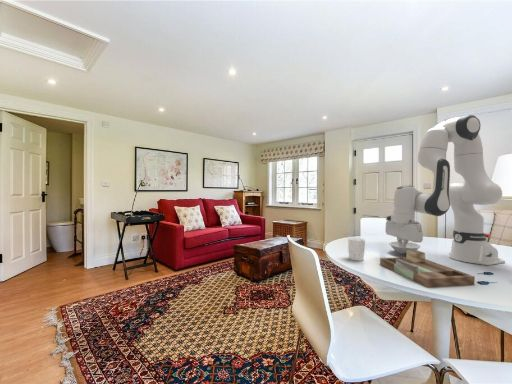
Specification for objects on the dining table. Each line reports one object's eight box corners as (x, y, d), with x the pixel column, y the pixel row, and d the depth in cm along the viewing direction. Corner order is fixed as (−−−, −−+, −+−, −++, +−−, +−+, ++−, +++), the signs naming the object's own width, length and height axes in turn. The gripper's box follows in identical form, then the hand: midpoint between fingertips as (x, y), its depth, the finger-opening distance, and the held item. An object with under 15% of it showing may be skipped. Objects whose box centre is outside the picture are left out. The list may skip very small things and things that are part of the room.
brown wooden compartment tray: (418, 263, 118) (418, 251, 118) (474, 284, 92) (474, 269, 92) (380, 264, 114) (380, 252, 114) (427, 287, 89) (427, 272, 89)
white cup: (367, 258, 124) (367, 239, 123) (361, 262, 118) (361, 241, 118) (351, 255, 129) (351, 236, 129) (345, 258, 123) (345, 238, 123)
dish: (396, 248, 146) (397, 240, 145) (425, 254, 134) (425, 244, 134) (383, 253, 135) (383, 244, 134) (412, 259, 123) (412, 249, 123)
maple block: (416, 258, 115) (416, 249, 114) (424, 261, 110) (425, 252, 110) (406, 258, 114) (406, 250, 114) (415, 262, 109) (415, 253, 109)
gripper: (427, 222, 109) (426, 253, 109) (394, 216, 129) (393, 243, 129) (414, 222, 108) (413, 253, 108) (383, 216, 128) (382, 243, 128)
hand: (402, 247), depth 119 cm, fingers closed
